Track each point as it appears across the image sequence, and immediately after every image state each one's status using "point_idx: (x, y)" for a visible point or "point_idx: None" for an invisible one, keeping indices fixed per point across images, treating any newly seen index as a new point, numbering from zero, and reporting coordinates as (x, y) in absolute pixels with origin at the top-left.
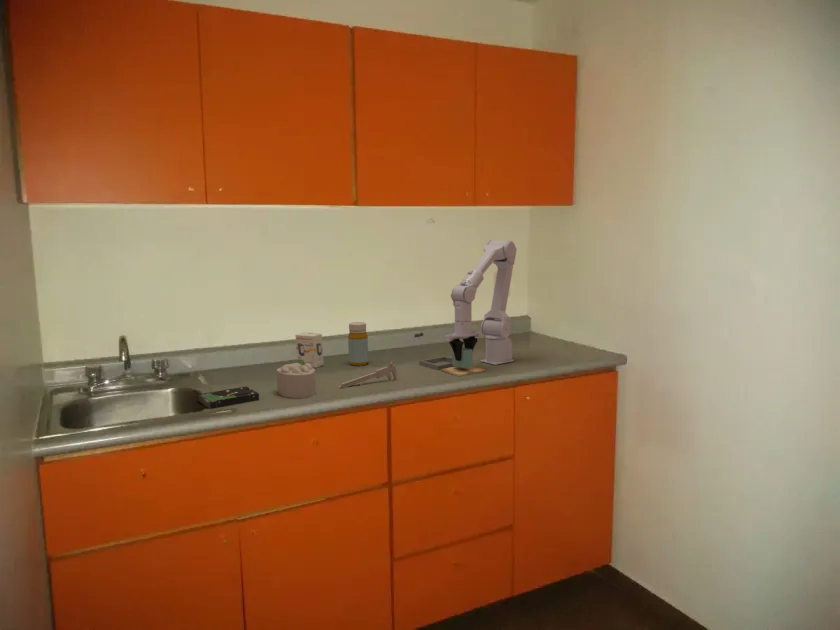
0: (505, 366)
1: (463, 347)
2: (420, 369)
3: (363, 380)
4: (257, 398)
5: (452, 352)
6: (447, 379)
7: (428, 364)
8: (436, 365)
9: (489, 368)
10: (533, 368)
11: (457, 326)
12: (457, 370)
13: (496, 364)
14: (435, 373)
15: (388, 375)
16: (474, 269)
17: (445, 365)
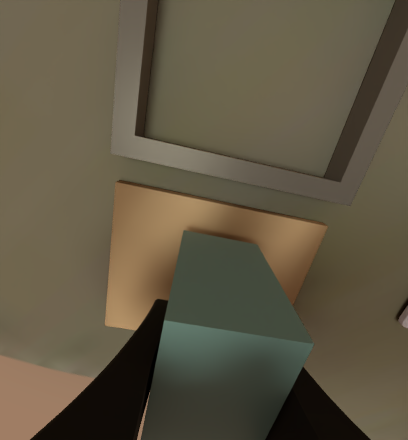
0: (390, 356)
1: (293, 380)
2: (41, 15)
3: None
4: None
5: (171, 288)
6: (25, 312)
7: (124, 10)
8: (112, 132)
9: (321, 330)
10: (394, 428)
11: None
12: (161, 274)
13: (404, 324)
14: (54, 194)
15: None
16: None
17: (182, 167)
